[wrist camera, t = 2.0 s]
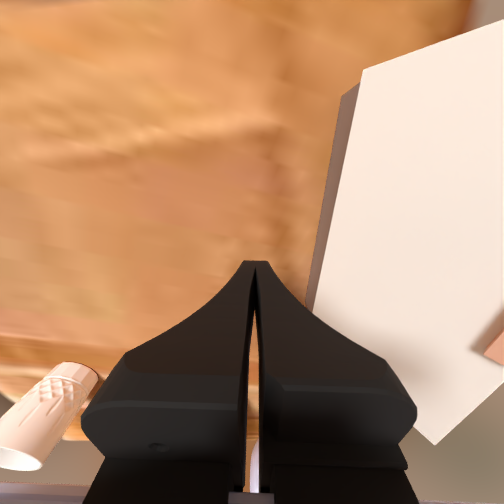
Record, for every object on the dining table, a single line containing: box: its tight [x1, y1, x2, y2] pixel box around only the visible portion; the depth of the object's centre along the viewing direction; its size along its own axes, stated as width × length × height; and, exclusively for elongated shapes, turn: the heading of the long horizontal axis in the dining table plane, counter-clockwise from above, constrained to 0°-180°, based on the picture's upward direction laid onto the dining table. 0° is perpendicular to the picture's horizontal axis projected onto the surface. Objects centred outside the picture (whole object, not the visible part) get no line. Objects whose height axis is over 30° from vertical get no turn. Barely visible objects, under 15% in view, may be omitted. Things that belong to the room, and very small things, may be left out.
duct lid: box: [312, 19, 504, 445], centre depth 11 cm, size 20×10×1 cm
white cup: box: [0, 362, 98, 471], centre depth 27 cm, size 8×8×10 cm
